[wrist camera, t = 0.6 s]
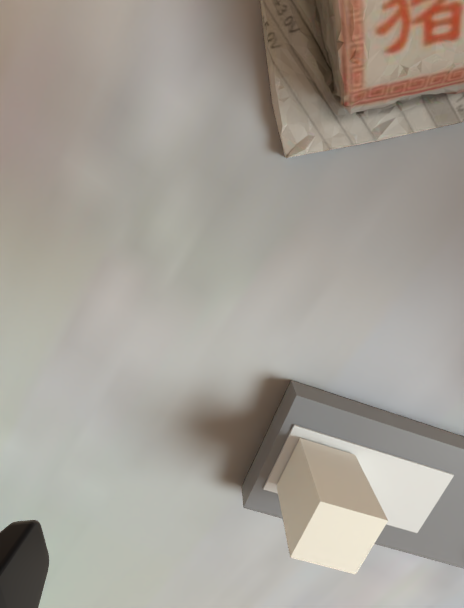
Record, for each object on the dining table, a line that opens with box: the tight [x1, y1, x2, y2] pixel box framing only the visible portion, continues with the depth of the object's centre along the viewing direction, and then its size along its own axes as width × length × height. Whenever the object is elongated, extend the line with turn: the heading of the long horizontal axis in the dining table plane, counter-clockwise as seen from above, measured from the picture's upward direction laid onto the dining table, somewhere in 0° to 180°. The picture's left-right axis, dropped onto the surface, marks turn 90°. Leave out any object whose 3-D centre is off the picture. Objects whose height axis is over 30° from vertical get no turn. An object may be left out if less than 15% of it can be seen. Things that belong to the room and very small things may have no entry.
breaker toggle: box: [277, 438, 388, 574], centre depth 18 cm, size 3×3×4 cm
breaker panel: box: [242, 380, 464, 568], centre depth 21 cm, size 17×7×3 cm, turn 69°
